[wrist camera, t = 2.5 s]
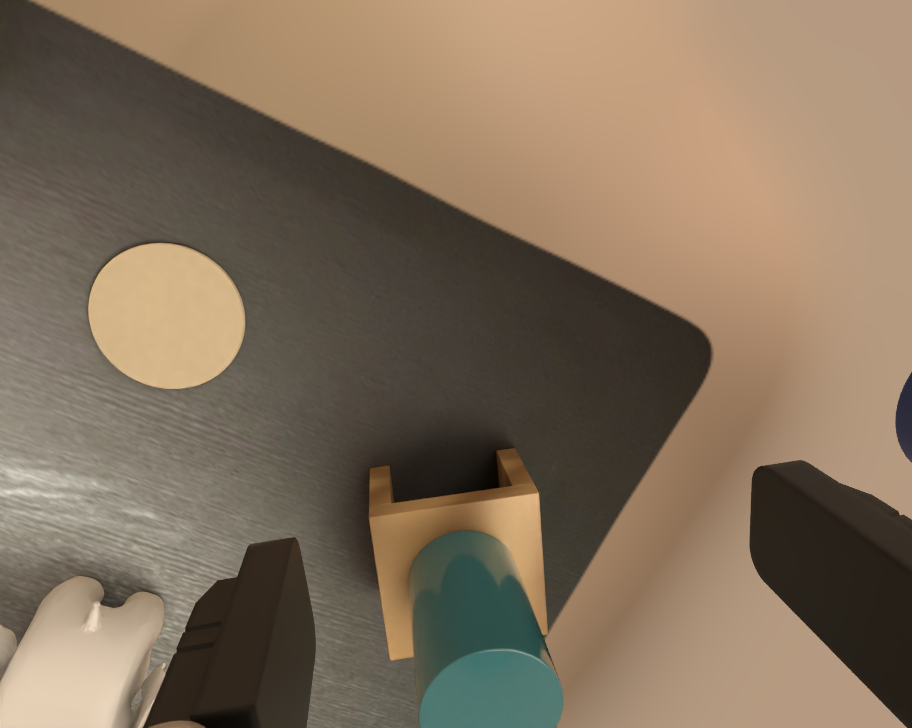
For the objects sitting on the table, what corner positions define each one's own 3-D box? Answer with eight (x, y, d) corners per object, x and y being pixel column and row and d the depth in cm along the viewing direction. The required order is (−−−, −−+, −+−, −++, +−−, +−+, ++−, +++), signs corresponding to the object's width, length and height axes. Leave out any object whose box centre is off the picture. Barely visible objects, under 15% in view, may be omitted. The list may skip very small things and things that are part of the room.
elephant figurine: (-1, 690, 39) (-105, 830, 31) (47, 527, 37) (-50, 630, 28) (155, 724, 41) (98, 863, 33) (211, 572, 39) (165, 680, 30)
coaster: (230, 235, 34) (228, 235, 33) (257, 377, 36) (256, 379, 36) (73, 251, 33) (70, 252, 33) (111, 395, 35) (109, 397, 35)
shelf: (515, 447, 39) (539, 492, 33) (524, 572, 42) (547, 634, 36) (369, 467, 38) (368, 517, 33) (387, 594, 41) (390, 660, 35)
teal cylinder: (513, 521, 34) (560, 637, 25) (520, 616, 35) (567, 755, 27) (401, 538, 33) (410, 663, 25) (413, 634, 35) (426, 781, 26)
